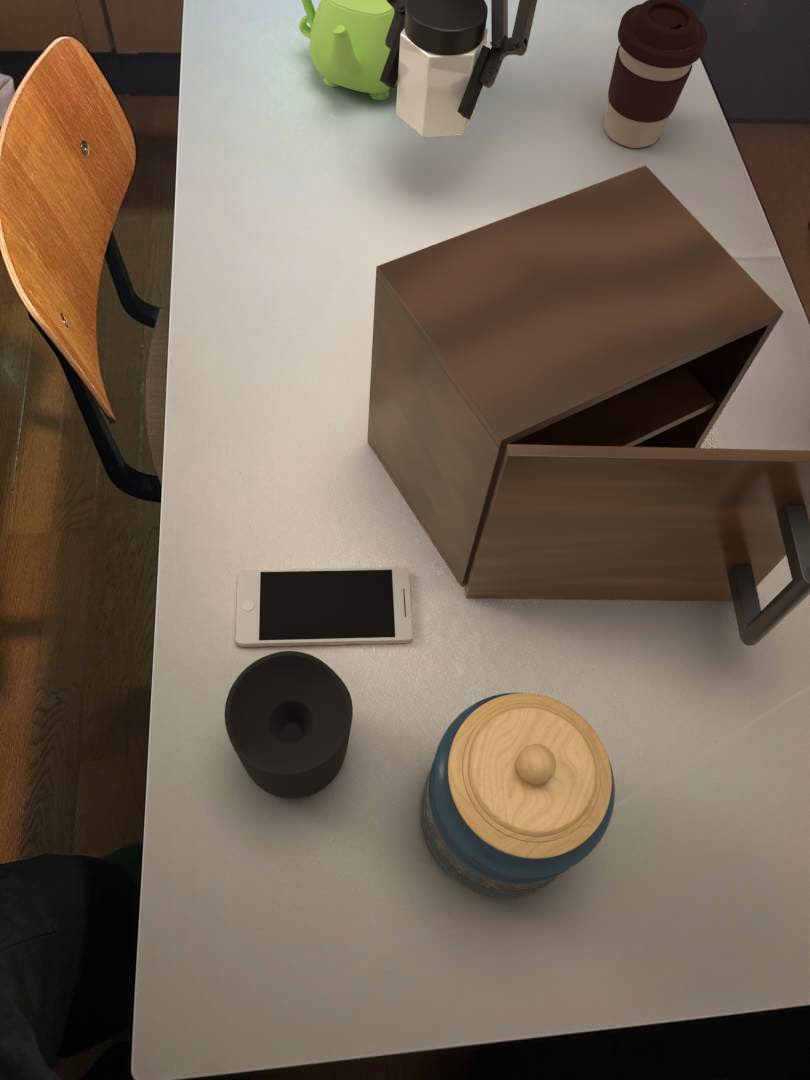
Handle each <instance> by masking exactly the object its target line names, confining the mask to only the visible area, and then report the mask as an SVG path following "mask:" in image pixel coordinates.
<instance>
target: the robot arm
mask: <svg viewBox="0 0 810 1080" xmlns="http://www.w3.org/2000/svg"><path fill="white" fill-rule="evenodd" d="M386 1H387V2H388V3H389V4H390V5H391V6H392V7H393V8H394V17H393V19H392V22H391V25H390V28H389V31H388V34H387V36H386V40H385V45H386V46H387V47H388V48H389V49H391V50H390V52H389V55H388V58H387V61H386V64H385V66H384V69H383V72H382V75H381V78H380V81H381V82H383V83H384V84H385V85H386V86H388V87H390V88H391V90H392V89H393V90H395V87H396V86H397V85H396V82H397V79H398V67H399V50H400V34H401V32H402V31H403V29H404V26H405V9H406V1H407V0H386ZM490 3H491V5H490V9H491V11H490V13H491V14H490V15H491V17H490V18H491V20H490V21H491V24H490V25H491V27H490V29H491V32H490V33H491V41H489V43H490V46H491V47H489V46H484V45H483V46H482V48H481V51H480V54H479V56H478V59H477V61H476V64H475V67H474V69H473V72H472V74H471V77H470V80H469V82H468V85H467V87H466V90H465V93H464V95H463V98H462V100H461V103H460V105H459V108H458V111H457V112H458V113H460V114H461V115H462V116H463V117H464V118H467V119H469V120H470V118H471V115H472V113H473V110H474V108H475V105H476V103H477V104H478V102H477V100H478V101H479V97H480V95H481V93H482V89H483V87H485V88H487V89H491V88H492V86H493V85H494V84H495V81H496V78H497V76H498V75H499V74H498V73H499V72H500V69H501V66H502V63H503V61H504V59H505V58H506V57H509V56H518V57H522V56H525V54H526V52H527V50H528V45H529V40H530V35H531V31H532V27H533V24H534V23H533V22H534V17H535V13H536V9H537V4H538V0H519V1H518V5H517V9H516V15H515V19H514V25H513V29H512V33H511V37H509V0H490ZM395 85H396V86H395Z"/></svg>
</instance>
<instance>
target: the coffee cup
mask: <svg viewBox="0 0 810 1080" xmlns="http://www.w3.org/2000/svg"><path fill="white" fill-rule="evenodd" d="M617 39H618V42H619V45H618V47H617V50H616V53H615V59H614V63H613V68H612V72H611V78H610V80H609V81H610V82H609V86H608V91H607V99H608V100H607V105H606V109H605V113H604V119H603V128H604V132H605V134H606V135H607V136H608V137H609V138H610V139H611V140H612V141H613V142H615V143H616V144H618V145H621V146H623V147H627V148H632V149H640V148H641V149H642V148H646V147H649V146H652V145H653V144H655V143H656V142H657V141H658V140H659V138H660V137H661V135H662V132H663V130H664V129H665V126H666V124H667V121H668V119H669V118H670V116H671V114H672V113H673V112H674V110H675V108H676V106H677V103H678V102H679V99H680V97H681V95H682V93H683V90H684V88H685V86H686V83H687V81H688V79H689V76H690V75H691V72H692V69H693V64H695V63H696V62H697V61H698V60H699V59H701V56H702V55H703V53H704V50H705V47H706V44H707V42H708V32H707V29H706V26H705V25H704V23H703V22H702V21H701V19H700V18H699V16H698V14H697V12H696V11H695V10H694V9H693V7H691V6H690V5H688V4H687V3H685V2H683V1H681V0H646V1H644V2H643V3H640V4H636V5H634V6H632V7H630V8H629V9H627V11H625V12H624V14H622V16H621V19H620V22H619V26H618V29H617Z"/></svg>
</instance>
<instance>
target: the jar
mask: <svg viewBox="0 0 810 1080" xmlns="http://www.w3.org/2000/svg"><path fill="white" fill-rule="evenodd" d="M488 12H489V9H488V4H487V2H486V1H485V0H407V1H406V9H405V26H404V29H403V31H402V32H401V34H400V50H399V67H398V84H397V85H396V103H395V105H396V106H395V115H396V116H397V117H398V118H400V119H401V120H402V121H403V122H404V123H405V124H406V125H408V127H410V128H411V129H412V130H414V132H416V133H417V134H418V135H419V136H420V137H422V138H432V137H447V136H449V137H450V136H462V135H464V134H465V132H466V130H467V128H468V126H469V125H470V122H471V121H472V119H473V117H474V115H475V113H476V111H477V108H478V102H479V99H478V100H477V103H476V105H475V108H474V110H473V113H472V115H471V118H470V120H469V119H467V118H464V117H463V116H462V115H461V114H460V113H458V112H457V111H458V108H459V105H460V103H461V100H462V98H463V95H464V93H465V90H466V87H467V85H468V82H469V80H470V77H471V74H472V72H473V69H474V67H475V64H476V61H477V59H478V56H479V54H480V51H481V48H482V46H483V45H484V46H486V45H487V40H488V39H487V38H488V32H489V31H488V29H487V20H488V14H489V13H488ZM486 47H487V46H486Z"/></svg>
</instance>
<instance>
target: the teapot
mask: <svg viewBox="0 0 810 1080" xmlns="http://www.w3.org/2000/svg"><path fill="white" fill-rule="evenodd" d="M301 3H302V6H303V9H304V13H305V15H304V16H302V17H301V19H300V20H299V25H298V26H299V27H298V28H299V31H300V33H301V34H302V36H304V37H306V38H307V39H309V54H310V55H309V56H310V59H311V63H312V65H313V66H314V67H315V69H316V70H317V72H318V73H319V75H321V76H322V77H323V79H322V80H323V83H324V85H326V86H328V87H331V88H337V87H342V88H345V89H348V90H353V91H357V92H361V93H368V94H369V96H370V98H372V99H373V100H376V101H383V100H386V99H388V98H389V96H390V90H392V88H390V87H388V86H386V85H385V84H384V83H383V82H381V81H380V78H381V75H382V72H383V69H384V66H385V64H386V61H387V58H388V55H389V52H390V50H391V49H389V48H388V47H387V46H386V45H385V40H386V36H387V34H388V31H389V28H390V25H391V22H392V19H393V17H394V8H393V7H392V6H391V5H390V4H389V3H388V2H387V1H386V0H320V1H319V3H318V6H317V8H316V9H315V6H314V4H313V1H312V0H301ZM308 24H309V25H308ZM397 84H398V79H397V82H396V85H395V87H397Z"/></svg>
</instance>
